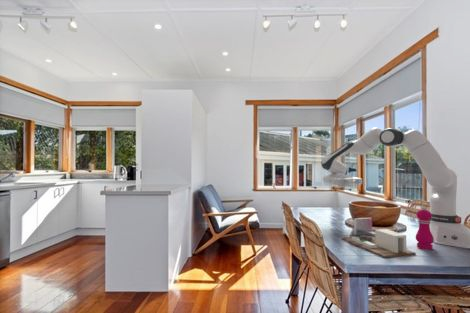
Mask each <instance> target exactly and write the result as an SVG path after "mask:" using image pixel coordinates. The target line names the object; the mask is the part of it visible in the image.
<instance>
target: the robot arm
mask: <svg viewBox="0 0 470 313" xmlns="http://www.w3.org/2000/svg"><path fill="white" fill-rule="evenodd" d="M380 145H384V146H385V147H389V148H400V147H403V146H404V147H405V148H406V149H407V151H408V152H409V154H410V155H411V157H412V158H413V159H414V161H415V162H416V163H417V165H418V167H419V169H420V171H421V173H422V174H423V176H424V178H425V179H426V181H427V182H428V184H429V186H431V188H430V196H429V212H430V213H431V215H432V217H431V219H430V224H429V227H430V231H431V233H432V235H433V238H434V241H433V243H435V244H438V245H444V246H450V247H455V248H456V247H457V248H462V249H470V228H469V227H467V226H466V225H464V224H463V223H462V216H458V215H457V185H458V184H457V183H458V177H457V176H458V175H457V173H456V171H454V170H453V169H451V168H448V166H447V165H446V163H445V161H444V160H443V159H442V157H441V155H440V154H439V152H438V150H437V149H436V148H435V147H434V146H433V144H432V143H431V141H430V140H429V139H428V138H427V137H426V136H425V134H423V133H422V132H421V131H419V130H418V129H411V130H408V131H406V132H404V131H402V130H400V129H397V128H392V127H388V128H385V129H383V130H382V129H381V128H379V127H372V128H370V129H369V130H368V131H366V132H365V133H363V135H361V136H360V137H359V138H358V139H356V140H350V141H348V142H346V143H345V144H343V145H341V146H339V147H338V148H337V149H336V150H334V151H332V152H331V153H330V154H328V155H325V156H324V157H323V158H322V160H321V162H320V163H321V167H322V169H323V170H325V171H328V172H329V173H326V174H324V175H323V178H322V181H323V183H324V184H325V185H326V186H329V187H336V188H346V187H351V186H357V185H362V184H363V178H361V177H356V176H352V175H347V174H348V171H349V170H348V166H347V165H346V164H345V163H343V162H341V161H340V160H339V159H340V158H341V157H343V156H344V155H346V154H349V153H350V154H351V153H352V154H355V155H359V156H360V155H362V156H363V155H368V154H370V153H371V152H373V151H374V150H375V149H376V148H377V147H379V146H380Z"/></svg>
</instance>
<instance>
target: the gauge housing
mask: <svg viewBox="0 0 470 313" xmlns="http://www.w3.org/2000/svg"><path fill="white" fill-rule="evenodd" d="M375 233H376V245H377V246H379V247H382V248H384V249H387V250H389V251H392V252H394V253H398V250H399V251H402V252H407V251H406V249H407V235H406V234H405V233H404V234H403V233H400V232H396V231H394V230H391V229H387V228H383V229H382V228H381V229H375Z"/></svg>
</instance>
